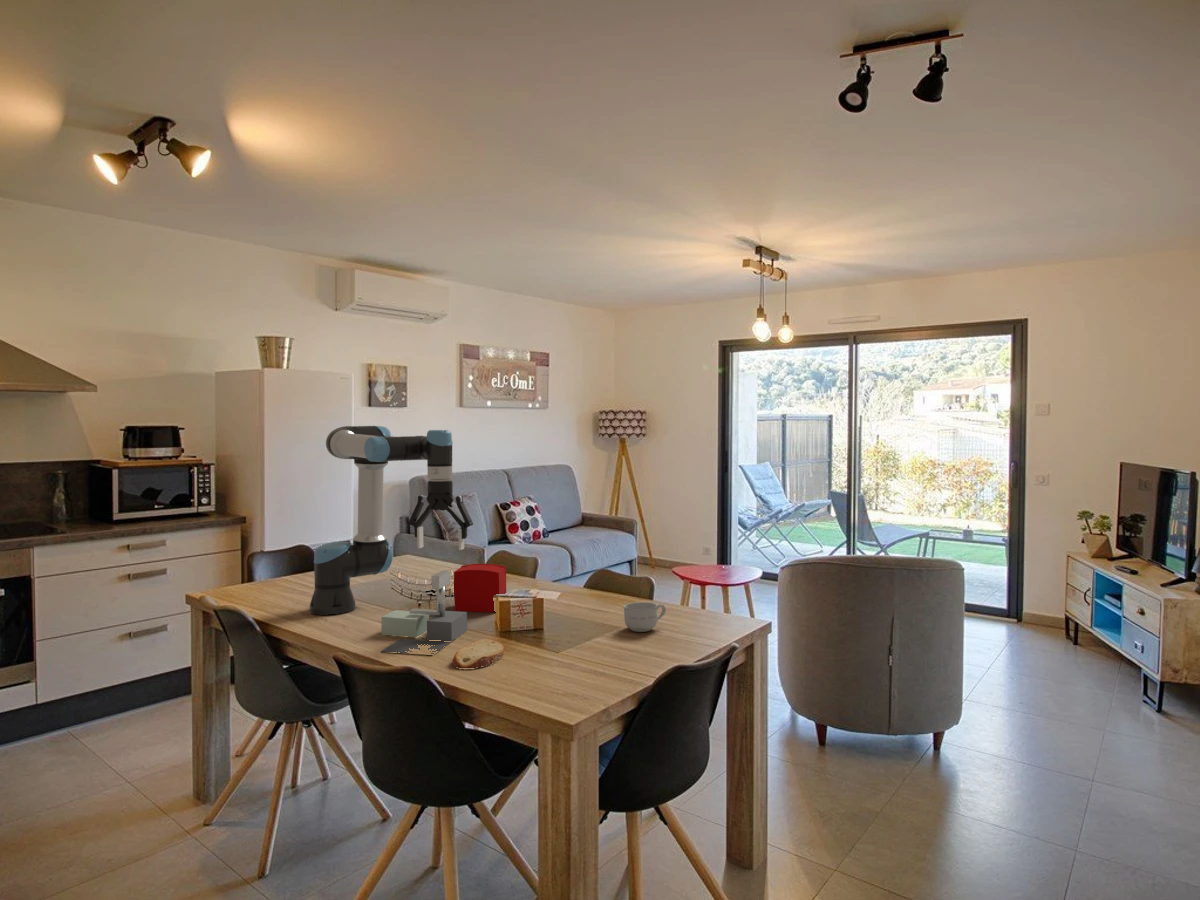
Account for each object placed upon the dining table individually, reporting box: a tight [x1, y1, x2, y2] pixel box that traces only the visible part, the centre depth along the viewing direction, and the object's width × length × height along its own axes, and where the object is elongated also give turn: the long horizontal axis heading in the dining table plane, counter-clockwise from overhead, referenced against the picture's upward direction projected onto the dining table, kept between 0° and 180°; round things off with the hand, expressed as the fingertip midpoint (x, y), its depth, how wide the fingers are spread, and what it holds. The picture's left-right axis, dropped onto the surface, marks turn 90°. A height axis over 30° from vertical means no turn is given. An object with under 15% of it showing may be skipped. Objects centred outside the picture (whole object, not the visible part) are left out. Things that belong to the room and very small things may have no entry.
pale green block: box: [381, 609, 430, 637], centre depth 223 cm, size 12×8×6 cm, turn 74°
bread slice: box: [451, 638, 505, 669], centre depth 200 cm, size 18×18×4 cm
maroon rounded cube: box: [453, 563, 507, 613], centre depth 252 cm, size 16×11×15 cm
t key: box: [408, 570, 451, 616], centre depth 221 cm, size 11×8×13 cm
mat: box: [380, 638, 451, 654], centre depth 208 cm, size 16×12×1 cm
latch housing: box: [426, 610, 468, 642], centre depth 220 cm, size 8×12×6 cm, turn 168°
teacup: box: [623, 601, 667, 633], centre depth 226 cm, size 14×11×8 cm
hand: (440, 548), depth 220 cm, fingers open, 13 cm apart
